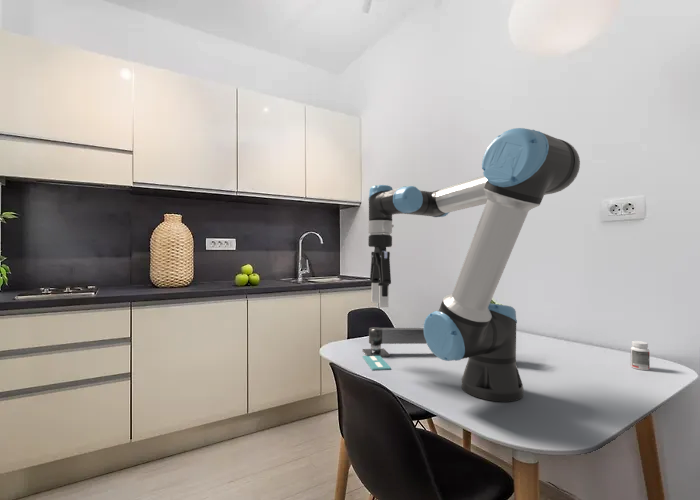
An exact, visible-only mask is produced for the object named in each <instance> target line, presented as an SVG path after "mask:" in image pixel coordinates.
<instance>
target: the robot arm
mask: <svg viewBox="0 0 700 500" xmlns="http://www.w3.org/2000/svg"><path fill="white" fill-rule="evenodd" d="M482 157H483V158H482V160H481V161H482V162H481V169H482V170H483V172H482V174H483V175H480V176H479V177H475V178H471V179H469V180H465V181H462V182H460V183H455V184H453V185H450V186H447V187H442V188H440V189H437V190H433V191H426V190H421V189H418V187H416V186H415V185H407V186H400V187H399V188H398V187H397V188H394V189H393V187H392V186H391V185H389V184H387V185H386V184H378V185H372V186H370V188H369V191H368V192H369V195H368V229H367V230H368V234H369V235H368V247H370V248H374V250H373V251H371V256H370V257H371V260H370V261H371V263H370V273H369V274H370V275H369V276H370V277H369V280H370V282H371V303H372V304H373V303H374V304H377V303H378V307H379V308H389V292H390V291H389V290H390V289H389V286H390V285H391V284H392V278H391V277H392V275H391V263H390V262H391V260H390V257H391V253H390V251H387V248H391V247H392V246H393V236H392V234H393V228H395V227H394V224H393V215H399V214H401V215H413V216H422V217H423V216H425V217H433V218H443V217H446V216H448V214H450V213H452V212H457V211H461V210H465V209H468V208H474V207H478V206H481V205H482V206H483V205H484V207H483V209H482V210H483V211H482V213H481V215H480V218H479V221H478V224H477V226H476V228H475V232H474V234H473V237H472V240H471V242H470V245H469V248H468V251H467V252H466V256H465V258H464V262H463V264H462V267H461V269H460V272H459V275H458V277H457V279H456V283H455V286H454V288H453V291H452V293H450V294H447V295H445V296H444V297H443V298H442V301H441V304H440V305H439V306H440V307H439V310H435V311H433V312H431V313H429V314H428V315H427V316H426V317H425V320H424V322H423V328H424V337H425V339H426V343H427V344H426V346H427V347H428V349H429V350H430V352H431V353H432V354H433V355H435V357H436V358H437V359H440V360H442V361H446V362H450V361H455V362H456V361H461V360H463V359H467V358H468V360H467V363H466V365H465V368H464V371H463V374H462V375H461V389H462V390H463V391H464V392H465V393H467V394H468V395H471V396H472V397H476V398H479V399H482V400H486V401H494V402H502V403H503V402H507V403H508V402H514V401H518V400H520V399H522V398H523V397H524V384H523V382H522V378H521V376H520V373H519V370H518V367H517V323H518V320H517V311H516V309H515V308H514V307H513V306H511V305H504V304H497V303H493V302H492V299H493V297H494V294H495V293H496V290H497V288H498V285H499V283H500V281H501V278H502V275H503V273H504V270H505V268H506V266H507V264H508V261H509V259H510V256H511V255H512V252H513V249H514V248H515V244H516V243H517V239H518V237H519V235H520V233H521V230H522V227H523V225H524V223H525V221H526V218H527V216H528V213H529V212H530V211H531V210H533V209H535V208H537V207H539V206H540V205H541V204H542V201H543V198H544V196H546V195H552V194H556V193H558V192H562V191H563V190H565V189H566V188H568V187H570V185H571V184H572V183H573V182H574V181H575V179H576V178H577V176H578V173H579V172H580V168H581V167H580V165H581V161H580V156H579V153H578V151H577V149H576V148H575V147H574V145H572V144H571V143H569V142H568V141H565V140H563V139H559V138H557V137H554V136H551V135H549V134H547V133H545V132H541V131H540V130H535V129H529V128H524V127H516V128H511V129H508V130H506V131H503V132H502V133H501V134H500V135H497V136H496V137H495V138H494V139H492V141H491V142H490V144H489V145H488V146H487V148H486V150H485V152H484V154H483V156H482ZM491 302H492V303H491Z"/></svg>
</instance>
